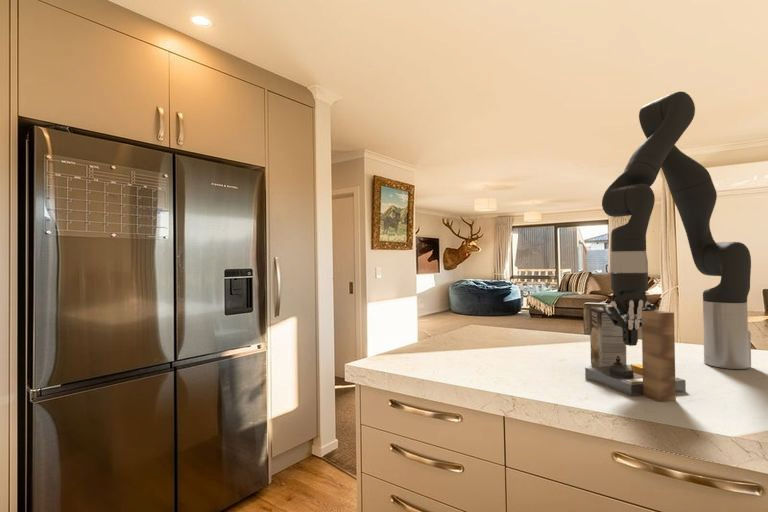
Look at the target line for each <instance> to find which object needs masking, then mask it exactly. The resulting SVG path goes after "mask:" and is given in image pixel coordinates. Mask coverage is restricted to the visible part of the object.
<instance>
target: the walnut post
mask: <svg viewBox="0 0 768 512" xmlns="http://www.w3.org/2000/svg"><path fill="white" fill-rule="evenodd" d="M641 320H642V326H641V348H642V349H641V352H642V356H641V357H642V358H641V359H642V365H643V396H644V397H646V398H648V399H650V400H654V401H655V402H656V401H657V402H659V403H660V402H661V403H662V402H673V401H677V400H676V398H677V397H676V395H677V394H676V393H677V392H676V386H675V377H676V351H675V350H676V347H675V346H676V343H675V341H676V340H675V335H676V334H675V312H673V311H672V312H671V311H665V310H659V309H658V310H657V309H655V310H653V311H642V319H641ZM643 396H642V397H643Z"/></svg>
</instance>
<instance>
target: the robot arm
mask: <svg viewBox="0 0 768 512" xmlns="http://www.w3.org/2000/svg"><path fill="white" fill-rule="evenodd" d="M692 98H693V97H691V95H689V94H688V93H687V92H685V91H676V92H671V93H670V94H668V95H665V96H662V97H661V98H657V99H656V100H653V101H651V102H649V103H647V104H645V105H643V106H642V107H641V108H640V110H639V113H638V120H639V121H638V122H639V124H640V128H641V130H642V133H643V134H644V136H645V138H646V140H644V141H643V142H642V143H641V144H640V146H638V147H637V149H635V151H634V152H633V153H632V155H631V157H630V158H629V160H628V162H627V165H626V166H625V168H624V171H622V173H620V175H619V176H618V177H617V178H616V179H615V180H614V181H613V182H612V183H611V184H610V185H609V186H608V187H607V188H606V190H605V191H604V193H603V196H602V200H601V207H602V210H603V211H604V213H605V214H606V215H607V216H609V217H613V218H617V217H618V218H620V217H628V216H629V217H630V218H629V220H628V222H626V223H625V224H623V225H620V226H616V227H614V228H613V229H612V230H611V234H610V236H611V237H610V243H611V246H610V247H611V249H610V250H611V254H610V263H609V264H610V267H609V268H610V290H611V291H612V296H611V302H610V303H608V304H607V305H605V304H604V305H603V306H602V307H603V310H604V311H605V312H606V314H607V315H608V316H609V318H610V319H611V321H612V322H613V323H614V325H615V326H619V327H621V328H622V330H623V342H624V344H625V345H626V346H629V347H633V346H637V344H638V342H639V341H638V337H639V334H638V333H639V332H638V330H639V329H640V328H642V311H653V310H657V309H656V308H657V306H656V304H652V303H651V302H650V301H648V297H647V294H646V293H647V292H648V291H649V262H648V255H647V233H648V227H649V223H650V219H651V216H652V214H653V210H654V206H655V201H656V199H655V193H654V190H653V189H652V187H651V186H653V185H654V184H655V181H656V180H657V177H658V175H659V173H660V171H662V173H663V176H664V178H665V181H666V183H667V184H666V185H667V187H668V190H669V193H670V195H671V197H672V200H673V202H674V204H675V207H676V209H677V211H678V214H679V216H680V220H681V222H682V225H683V228H684V231H685V233H686V238H687V242H688V245H689V249H690V253H691V257H692V260H693V264H694V265H695V267H696V269H697V271H699V273H701V275H704V276H712V277H720V281H719V283H718V284H717V285H715V286H714V287H711V288H708V289H705V290H704V291H703V292H702V317H703V319H702V321H703V323H702V324H703V326H702V329H703V363H704V364H706V365H709V366H711V367H716V368H722V369H727V370H729V369H731V370H747V369H749V368H751V367H752V346H751V345H752V344H751V343H752V342H751V341H752V339H751V331H750V330H749V318H748V314H749V313H748V297H749V293H750V290H751V272H752V271H751V269H752V257H751V253H750V252H751V251H750V250H749V248H748V247H747V245H745V244H744V243H743V242H739V241H726V242H725V241H722V242H719V241H718V242H716V241H715V240H714V237H713V235H712V231H711V226H710V225H711V224H710V222H711V218H712V214H713V212H714V209H715V206H716V204H717V203H716V202H717V198H718V197H717V195H718V194H717V189H716V187H715V184H714V182H713V179H712V176H711V174H710V172H709V171H708V169H707V168H706V167H705V166H704V165H702V164H701V163H700V162H698V161H697V160H695V159H693V158H692V157H690V156H689V155H687V154H686V153H684V152H683V151H681V150H680V149H679V148H678V147H677V146H676V144H677V142H678V141H679V140H680V138H681V137H682V135H683V134H684V133H685V131H686V130H687V128H689V126H691V123H692V121H694V117H695V115H696V114H695V113H696V106H695V105H696V104H695V102H694V99H692Z"/></svg>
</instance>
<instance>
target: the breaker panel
mask: <svg viewBox="0 0 768 512" xmlns="http://www.w3.org/2000/svg"><path fill="white" fill-rule="evenodd" d="M584 374H585V377H584V378H585V379H587V380H588V381H592V382H594V383H596V384H599V385H602V386H604V387H607V388H609V389H611V390H613V391H616V392H618V393H621V394H623V395H626V396H629V397H643V364H640V363H636V364H635V363H630V364H626V365H618V366H604V367H593V366H592V367H585V368H584ZM686 382H687V381H686V379H682V378H680V377H676V376H675V386H676V393H683V392H684V393H685V392H686V391H687V390H686V389H687V387H686Z"/></svg>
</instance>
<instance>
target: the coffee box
mask: <svg viewBox="0 0 768 512" xmlns="http://www.w3.org/2000/svg"><path fill="white" fill-rule="evenodd" d="M589 326H590V327H589V328H590V329H589V336H590V338H589V339H590V340H589V341H590V365H591V366H592V367H604V366H618V365H627V345H625V344H624V342H623V330H622V328H621V327H619V326H615V325H614V323H613V322H612V321H611V319H610V318H609V316H608V315H607V314H606V312H605V311H604V310H603V306H590V307H589Z"/></svg>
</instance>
